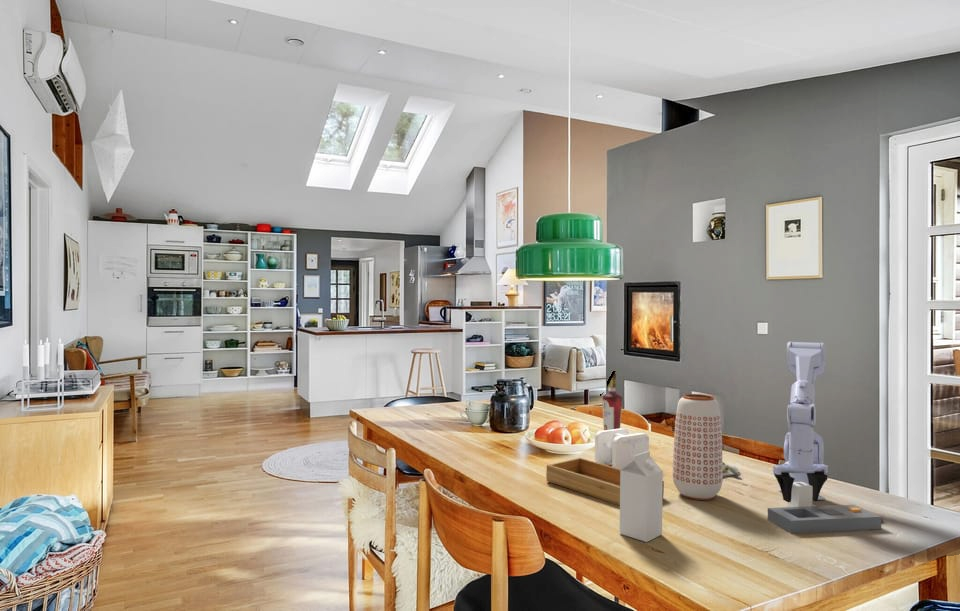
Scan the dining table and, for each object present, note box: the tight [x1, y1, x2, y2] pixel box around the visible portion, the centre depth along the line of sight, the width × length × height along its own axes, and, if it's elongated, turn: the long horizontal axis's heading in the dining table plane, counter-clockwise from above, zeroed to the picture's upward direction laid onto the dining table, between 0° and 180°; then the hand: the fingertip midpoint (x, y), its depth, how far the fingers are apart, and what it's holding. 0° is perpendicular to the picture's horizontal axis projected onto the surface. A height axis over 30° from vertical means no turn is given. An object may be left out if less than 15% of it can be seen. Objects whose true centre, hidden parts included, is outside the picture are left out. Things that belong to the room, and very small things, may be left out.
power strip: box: [767, 504, 884, 534], centre depth 150 cm, size 28×9×4 cm, turn 98°
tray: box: [545, 457, 665, 507], centre depth 176 cm, size 31×15×6 cm, turn 40°
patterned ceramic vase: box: [672, 393, 724, 501], centre depth 172 cm, size 13×13×28 cm
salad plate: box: [722, 461, 740, 478], centre depth 197 cm, size 19×18×5 cm
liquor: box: [601, 372, 623, 431], centre depth 230 cm, size 7×7×28 cm
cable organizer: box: [594, 427, 650, 469], centre depth 201 cm, size 15×11×12 cm
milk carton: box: [619, 450, 664, 543], centre depth 142 cm, size 7×7×19 cm
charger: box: [787, 482, 813, 507], centre depth 160 cm, size 4×4×7 cm
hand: (800, 500), depth 160 cm, fingers open, 7 cm apart
